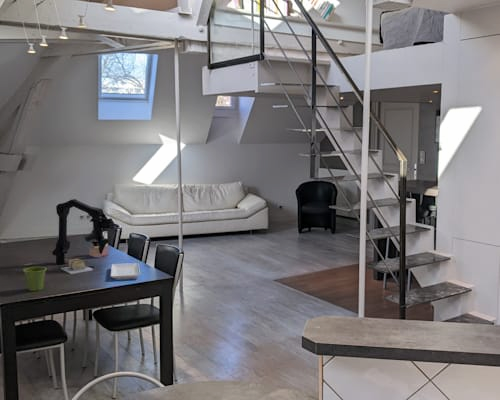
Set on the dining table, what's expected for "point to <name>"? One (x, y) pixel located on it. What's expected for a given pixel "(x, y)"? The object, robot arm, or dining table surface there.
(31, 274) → the plant pot
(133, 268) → the tray
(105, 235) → the candy bar box
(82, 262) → the brick
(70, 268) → the blueprint board
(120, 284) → the dining table surface
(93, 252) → the brick
